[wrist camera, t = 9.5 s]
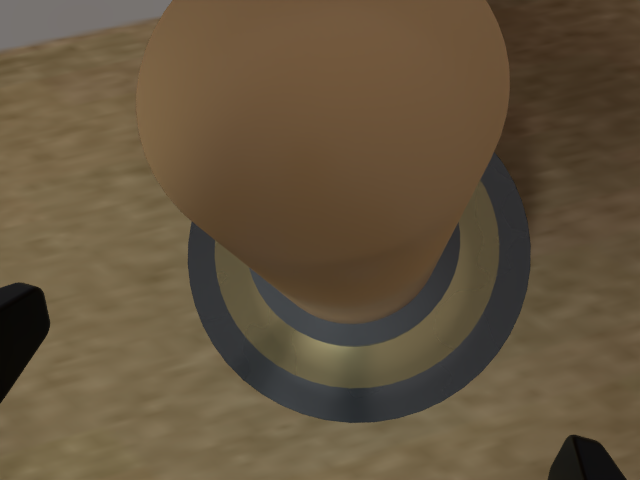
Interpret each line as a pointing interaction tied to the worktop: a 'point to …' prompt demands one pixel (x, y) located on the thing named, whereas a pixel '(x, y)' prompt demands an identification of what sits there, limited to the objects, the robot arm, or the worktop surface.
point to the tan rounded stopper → (328, 146)
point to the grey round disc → (385, 358)
